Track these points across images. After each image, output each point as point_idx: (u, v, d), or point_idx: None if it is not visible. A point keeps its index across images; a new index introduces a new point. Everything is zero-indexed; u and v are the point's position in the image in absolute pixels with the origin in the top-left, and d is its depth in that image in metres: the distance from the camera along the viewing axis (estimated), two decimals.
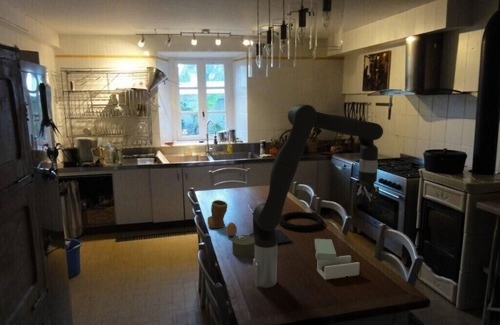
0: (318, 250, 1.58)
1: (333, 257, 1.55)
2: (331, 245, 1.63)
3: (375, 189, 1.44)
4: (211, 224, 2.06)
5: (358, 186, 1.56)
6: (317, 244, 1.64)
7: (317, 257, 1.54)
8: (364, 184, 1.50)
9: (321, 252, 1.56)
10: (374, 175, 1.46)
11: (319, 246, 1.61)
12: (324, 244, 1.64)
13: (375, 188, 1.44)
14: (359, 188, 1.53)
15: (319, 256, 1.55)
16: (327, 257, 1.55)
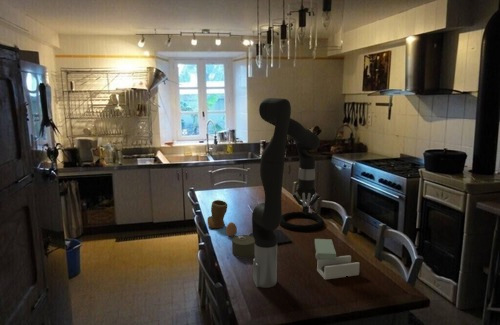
0: (318, 250, 1.58)
1: (333, 257, 1.55)
2: (331, 245, 1.63)
3: None
4: (211, 224, 2.06)
5: (298, 198, 1.64)
6: (317, 244, 1.64)
7: (317, 257, 1.54)
8: (306, 191, 1.63)
9: (321, 252, 1.56)
10: None
11: (319, 246, 1.61)
12: (324, 244, 1.64)
13: None
14: (303, 198, 1.63)
15: (319, 256, 1.55)
16: (327, 257, 1.55)
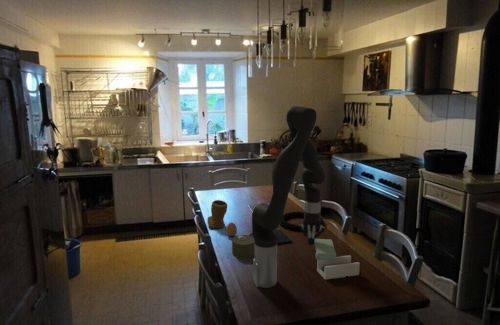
0: (318, 250, 1.58)
1: (333, 257, 1.55)
2: (331, 245, 1.63)
3: None
4: (211, 224, 2.06)
5: (303, 229, 1.67)
6: (317, 244, 1.64)
7: (317, 257, 1.54)
8: (311, 223, 1.65)
9: (321, 252, 1.56)
10: None
11: (319, 246, 1.61)
12: (324, 244, 1.64)
13: (324, 229, 1.65)
14: (308, 230, 1.65)
15: (319, 256, 1.55)
16: (327, 257, 1.55)
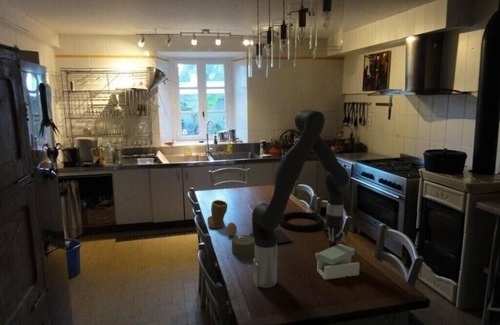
0: (322, 251, 1.56)
1: (330, 262, 1.50)
2: (343, 253, 1.55)
3: (342, 236, 1.58)
4: (211, 224, 2.06)
5: (326, 230, 1.66)
6: (332, 248, 1.60)
7: (316, 257, 1.55)
8: (332, 226, 1.62)
9: (321, 253, 1.54)
10: (342, 218, 1.59)
11: (329, 249, 1.58)
12: (338, 250, 1.58)
13: (343, 235, 1.58)
14: (328, 231, 1.63)
15: (318, 256, 1.54)
16: (325, 260, 1.52)
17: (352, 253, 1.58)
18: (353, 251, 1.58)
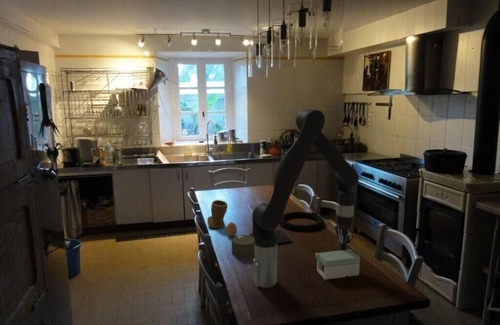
0: (324, 253, 1.55)
1: (324, 263, 1.49)
2: (343, 257, 1.50)
3: (349, 238, 1.52)
4: (211, 224, 2.06)
5: None
6: (337, 251, 1.56)
7: (315, 256, 1.55)
8: (341, 227, 1.57)
9: (321, 254, 1.54)
10: (350, 219, 1.53)
11: (332, 252, 1.55)
12: (342, 254, 1.54)
13: (349, 237, 1.52)
14: (338, 232, 1.59)
15: (317, 256, 1.54)
16: (321, 261, 1.51)
17: (356, 260, 1.51)
18: (358, 258, 1.51)
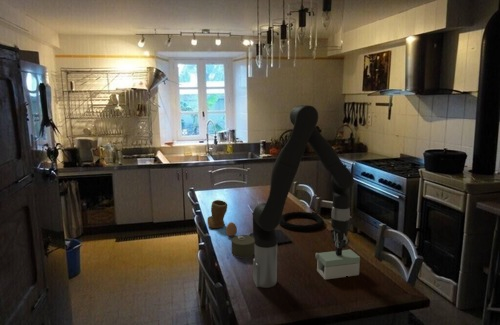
0: (324, 253, 1.55)
1: (324, 263, 1.49)
2: (343, 257, 1.50)
3: (345, 242, 1.46)
4: (211, 224, 2.06)
5: None
6: None
7: (315, 256, 1.55)
8: (337, 231, 1.51)
9: (321, 254, 1.54)
10: (346, 223, 1.47)
11: (332, 252, 1.55)
12: (342, 254, 1.54)
13: (345, 242, 1.46)
14: (334, 236, 1.53)
15: (317, 256, 1.54)
16: (321, 261, 1.51)
17: (356, 260, 1.51)
18: (358, 258, 1.51)
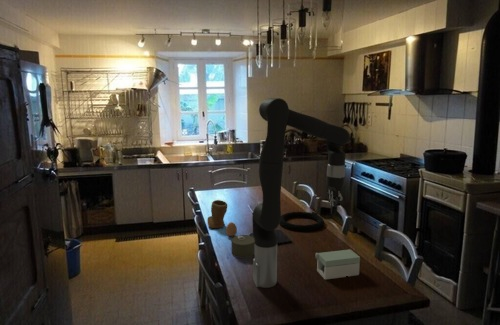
0: (324, 253, 1.55)
1: (324, 263, 1.49)
2: (343, 257, 1.50)
3: (340, 199, 1.46)
4: (211, 224, 2.06)
5: None
6: (337, 251, 1.56)
7: (315, 256, 1.55)
8: (332, 189, 1.51)
9: (321, 254, 1.54)
10: (341, 180, 1.47)
11: (332, 252, 1.55)
12: (342, 254, 1.54)
13: (340, 199, 1.46)
14: (329, 195, 1.52)
15: (317, 256, 1.54)
16: (321, 261, 1.51)
17: (356, 260, 1.51)
18: (358, 258, 1.51)
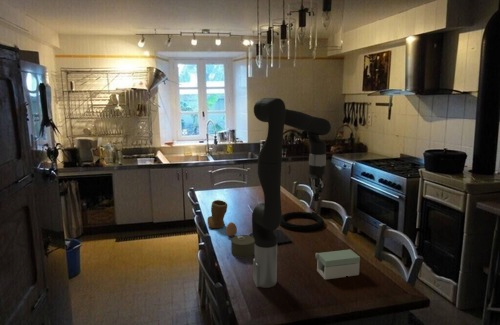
0: (324, 253, 1.55)
1: (324, 263, 1.49)
2: (343, 257, 1.50)
3: (321, 186, 1.54)
4: (211, 224, 2.06)
5: (312, 183, 1.63)
6: (337, 251, 1.56)
7: (315, 256, 1.55)
8: (314, 177, 1.59)
9: (321, 254, 1.54)
10: (322, 168, 1.55)
11: (332, 252, 1.55)
12: (342, 254, 1.54)
13: (321, 186, 1.54)
14: (311, 183, 1.61)
15: (317, 256, 1.54)
16: (321, 261, 1.51)
17: (356, 260, 1.51)
18: (358, 258, 1.51)
